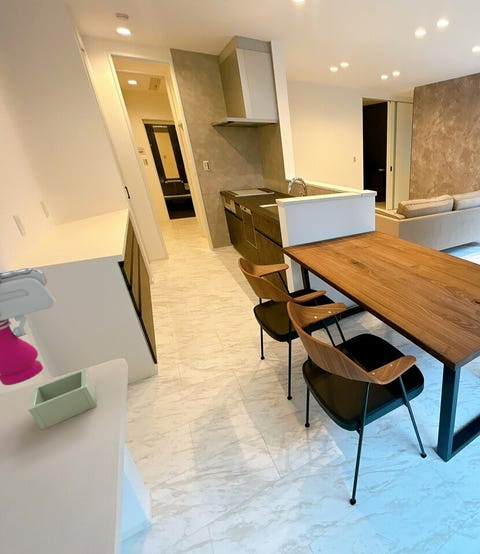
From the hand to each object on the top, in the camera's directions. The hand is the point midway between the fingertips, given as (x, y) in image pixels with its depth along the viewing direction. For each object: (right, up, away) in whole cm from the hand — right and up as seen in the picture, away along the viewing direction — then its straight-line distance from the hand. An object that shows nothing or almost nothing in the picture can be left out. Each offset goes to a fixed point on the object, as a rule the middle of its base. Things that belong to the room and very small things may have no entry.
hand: (1, 341), depth 62 cm
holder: (-7, -23, +22) cm, 33 cm away
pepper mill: (+1, -9, +4) cm, 9 cm away
